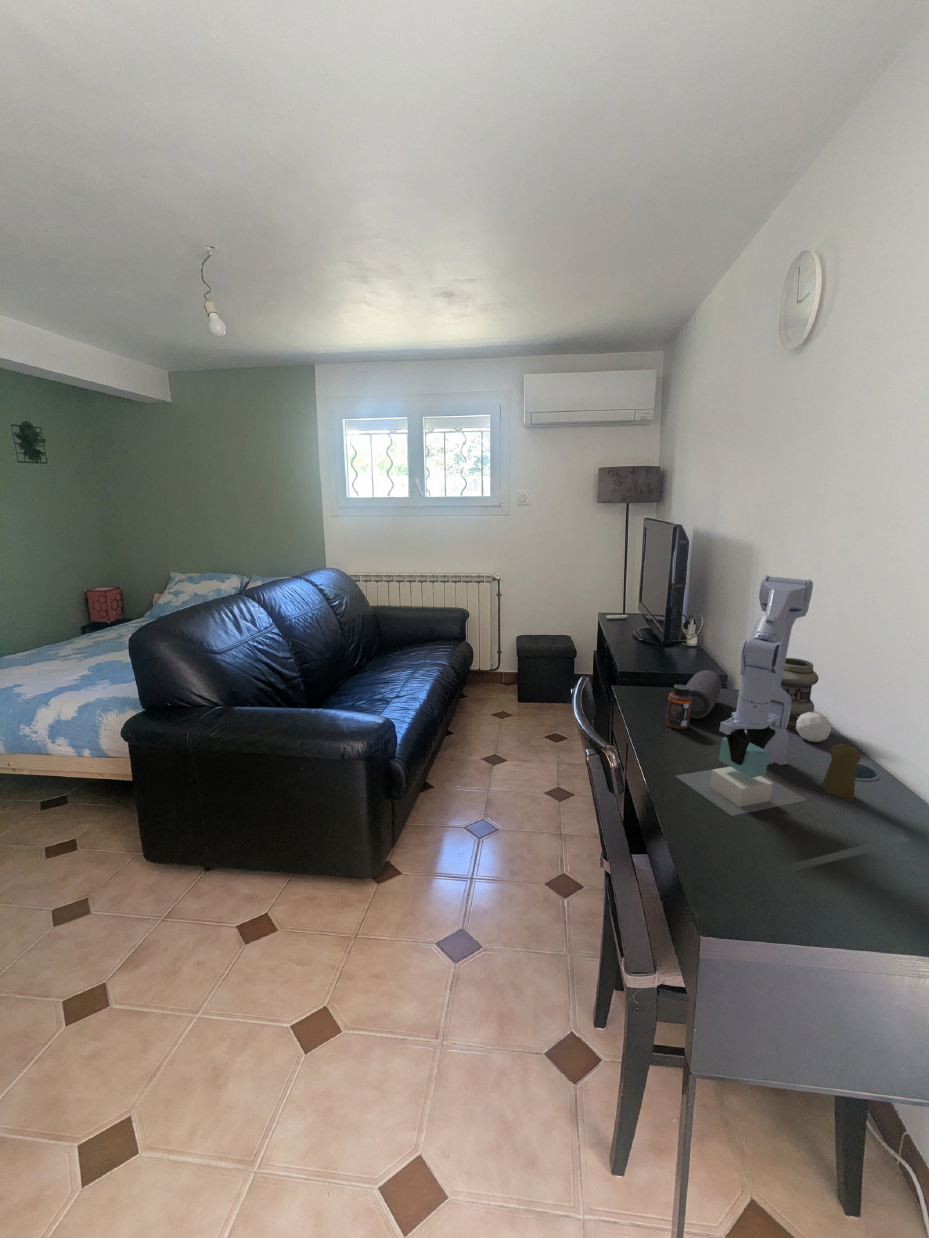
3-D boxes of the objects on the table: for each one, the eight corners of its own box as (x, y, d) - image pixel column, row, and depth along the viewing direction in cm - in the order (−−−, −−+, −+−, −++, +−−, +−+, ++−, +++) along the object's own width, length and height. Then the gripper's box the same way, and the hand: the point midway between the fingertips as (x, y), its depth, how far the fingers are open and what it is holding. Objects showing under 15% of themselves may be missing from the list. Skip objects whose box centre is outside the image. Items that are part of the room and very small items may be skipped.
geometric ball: (816, 749, 142) (842, 730, 139) (806, 746, 137) (833, 726, 134) (794, 726, 147) (819, 707, 144) (784, 722, 142) (810, 703, 139)
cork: (848, 790, 117) (858, 743, 114) (858, 804, 111) (869, 755, 109) (816, 784, 119) (825, 738, 116) (824, 798, 113) (834, 750, 111)
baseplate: (744, 767, 125) (744, 764, 125) (806, 803, 111) (807, 800, 111) (674, 779, 119) (674, 775, 119) (731, 819, 104) (731, 815, 104)
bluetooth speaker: (710, 726, 148) (715, 692, 146) (675, 718, 153) (679, 685, 151) (721, 702, 167) (725, 671, 165) (689, 695, 172) (693, 665, 170)
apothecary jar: (752, 715, 157) (761, 656, 153) (783, 712, 160) (794, 654, 157) (787, 732, 146) (798, 669, 142) (820, 728, 149) (832, 666, 145)
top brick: (732, 757, 115) (735, 735, 114) (765, 774, 108) (769, 751, 107) (718, 760, 114) (722, 738, 113) (751, 778, 107) (755, 754, 106)
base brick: (738, 781, 117) (741, 764, 116) (769, 800, 110) (773, 783, 109) (709, 786, 114) (712, 769, 114) (739, 807, 107) (742, 788, 106)
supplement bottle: (690, 731, 144) (695, 691, 142) (667, 728, 146) (672, 689, 143) (686, 722, 150) (691, 684, 148) (663, 720, 151) (668, 682, 149)
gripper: (762, 688, 114) (752, 747, 117) (711, 695, 108) (702, 757, 111) (793, 699, 108) (782, 762, 111) (741, 708, 102) (730, 773, 105)
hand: (744, 761), depth 110 cm, fingers closed on top brick, 4 cm apart
